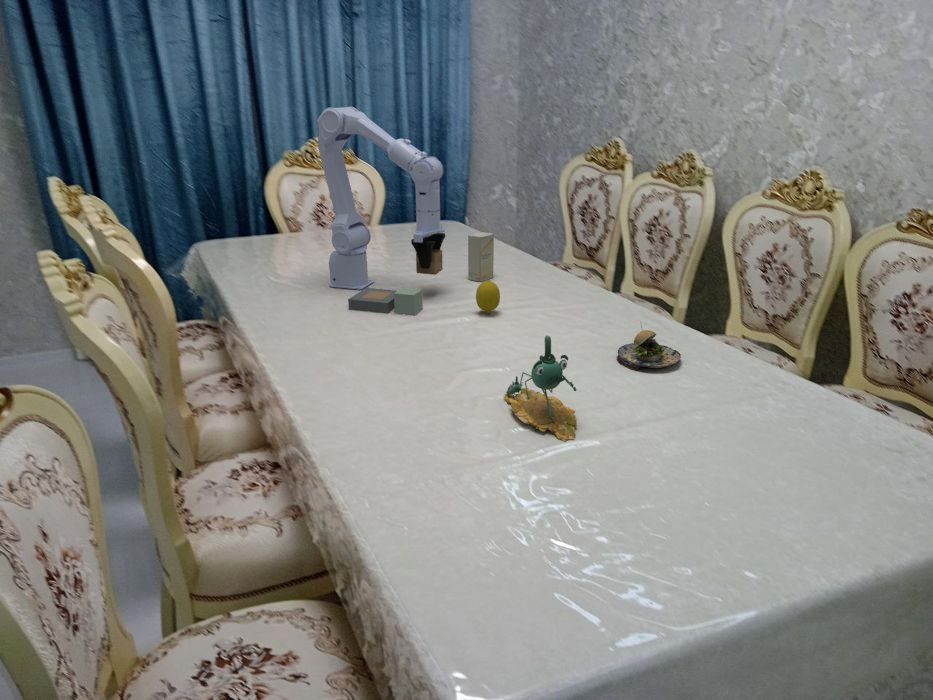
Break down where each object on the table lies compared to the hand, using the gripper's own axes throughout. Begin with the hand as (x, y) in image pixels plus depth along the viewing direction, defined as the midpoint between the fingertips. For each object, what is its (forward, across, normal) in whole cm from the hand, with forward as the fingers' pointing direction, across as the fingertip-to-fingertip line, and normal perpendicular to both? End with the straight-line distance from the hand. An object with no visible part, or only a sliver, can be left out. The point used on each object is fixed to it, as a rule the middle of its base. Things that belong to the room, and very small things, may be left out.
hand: (429, 265), depth 164 cm
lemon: (+8, -10, -18) cm, 22 cm away
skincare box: (+8, +18, -8) cm, 21 cm away
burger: (+8, -28, -55) cm, 62 cm away
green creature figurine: (+8, -56, -40) cm, 70 cm away
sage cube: (+8, -14, 0) cm, 16 cm away
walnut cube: (+2, 0, 0) cm, 2 cm away
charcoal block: (+8, -12, +9) cm, 17 cm away
